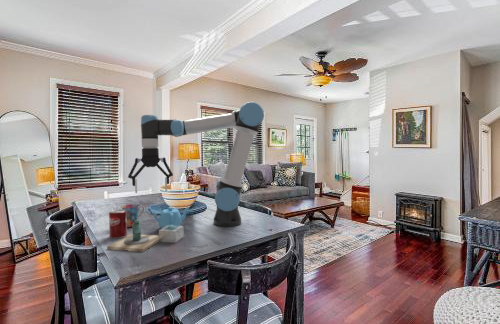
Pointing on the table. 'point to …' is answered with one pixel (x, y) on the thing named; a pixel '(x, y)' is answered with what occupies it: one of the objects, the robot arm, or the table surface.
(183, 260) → the table surface
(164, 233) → the white square bowl
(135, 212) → the mug
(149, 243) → the peg stand
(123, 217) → the soda can
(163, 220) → the teapot
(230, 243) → the table surface
